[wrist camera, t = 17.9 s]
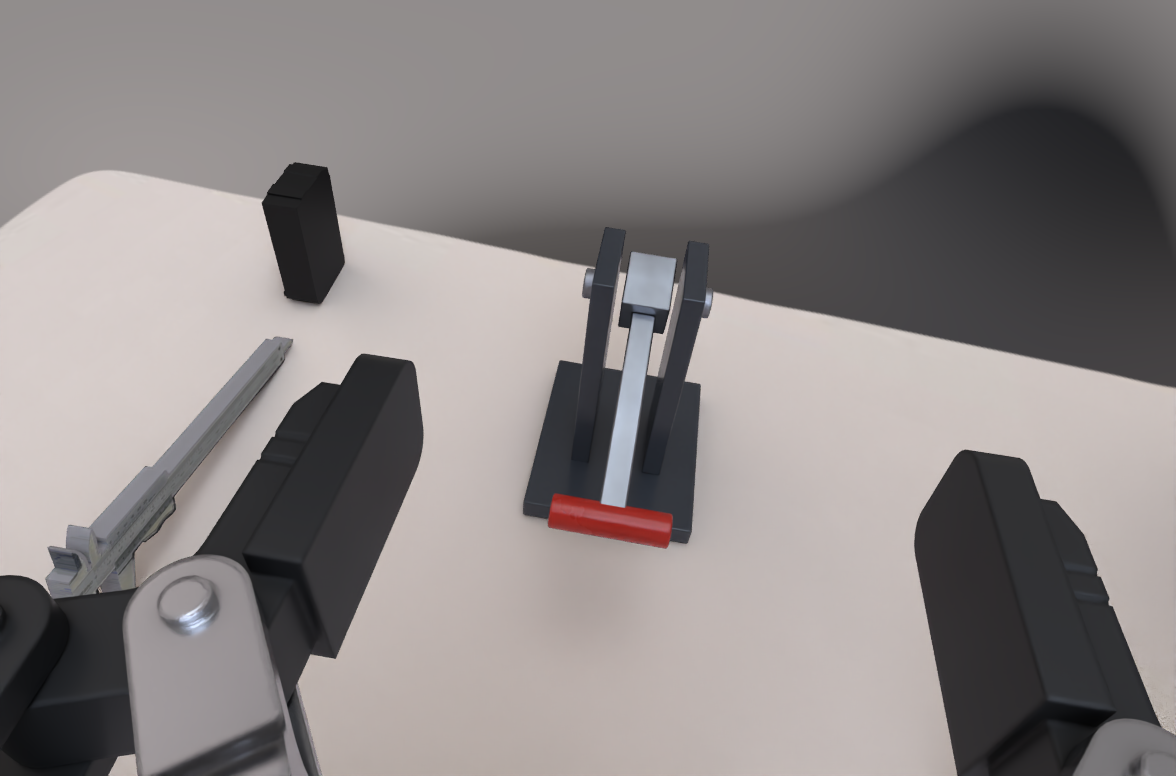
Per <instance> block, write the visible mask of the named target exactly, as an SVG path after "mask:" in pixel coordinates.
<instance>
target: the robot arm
mask: <svg viewBox="0 0 1176 776" xmlns="http://www.w3.org/2000/svg"><path fill="white" fill-rule="evenodd" d="M275 432H276V434H275V437H272V438H271V439H270V441H269V442H268V444H267V445H266V447H265V448H264V450H263V452H262V453H261V459H260V460H257V461H256V462H255V464H254V466H253V467H252V469H251V470H250V472H249V473H248V475H247V477H246V478H245V480H244V481H243V483H242V484H241V486H240V487H239V489H238V491H237V492H236V494H235V495H234V497H233V498H232V500H231V501H230V503H229V505H228V506H227V508H226V509H225V511H224V512H223V514H222V515H221V517H220V519H219V520H218V522H217V523H216V525H215V526H214V528H213V529H212V531H211V533H210V534H209V536H208V537H207V539H206V540H205V542H204V543H203V545H202V546H201V547H200V549H199V550H198V551H197V552H196V553H195V554H194V555H193V556H191V557H187V558H184V559H180V560H178V561H176V562H173V563H171V564H169V565H167V566H165V567H163V568H161V569H160V570H158V571H157V572H156V573H154V574H153V575H151V576H150V577H149V578H148V579H147V580H146V581H145V582H143V583H142V584H141V586H140V587H137V588H132V589H127V590H121V591H113V592H104V593H96V594H88V595H80V596H72V597H64V598H56V599H53V598H52V597H51V596H50V595H49V593H48V592H47V591H46V590H45V588H44V587H43V586H42V585H41V584H39V583H38V582H37V581H35V580H33V579H30V578H28V577H23V576H15V575H5V576H0V776H108V774H109V772H110V771H111V769H112V767H113V765H114V763H115V761H116V759H117V757H118V756H124V755H131V754H136V764H137V774H138V776H322V773H321V769H320V765H319V761H318V757H317V754H316V750H315V746H314V742H313V739H312V735H311V731H310V727H309V723H308V720H307V716H306V712H305V708H304V704H303V701H302V697H301V693H300V689H299V686H298V683H297V682H298V680H299V678H300V676H301V674H302V671H303V669H304V667H305V665H306V663H307V661H308V658H309V656H310V654H313V655H318V656H323V657H329V658H334V659H336V657H337V654H338V652H339V650H340V647H341V645H342V643H343V640H344V638H345V636H346V633H347V631H348V629H349V626H350V624H351V622H352V619H353V617H354V615H355V612H356V610H357V608H358V605H359V603H360V601H361V598H362V596H363V594H364V591H365V589H366V587H367V584H368V582H369V580H370V577H371V575H372V573H373V570H374V568H375V566H376V563H377V561H378V559H379V556H380V554H381V552H382V549H383V547H384V545H385V542H386V540H387V538H388V535H389V533H390V531H391V528H392V526H393V524H394V521H395V519H396V517H397V514H398V512H399V510H400V507H401V505H402V503H403V500H404V498H405V496H406V493H407V491H408V489H409V486H410V484H411V482H412V479H413V477H414V475H415V472H416V470H417V467H418V464H419V461H420V457H421V453H422V447H423V422H422V415H421V407H420V399H419V391H418V384H417V376H416V369H415V366H414V364H413V362H412V361H408V360H402V359H396V358H389V357H383V356H377V355H370V354H361V355H359V356H358V357H357V358H356V360H355V361H354V363H353V364H352V366H351V368H350V370H349V371H348V373H347V375H346V376H345V378H344V380H343V381H342V383H341V385H338V384H331V383H325V382H321V383H320V384H319V385H317V386H316V387H315V388H313V389H312V390H311V391H309V392H308V393H307V394H305V395H304V396H303V397H302V398H300V399H299V400H298V401H296V402H295V403H294V404H293V405H292V406H291V408H290V410H289V411H288V413H287V414H286V416H285V417H284V419H283V420H282V422H281V424H280V425H279V427H278V428H277V430H276V431H275ZM914 548H915V557H916V562H917V567H918V572H919V577H920V583H921V588H922V593H923V598H924V603H925V609H926V614H927V619H928V624H929V629H930V635H931V640H932V645H933V650H934V655H935V660H936V666H937V671H938V676H939V681H940V686H941V692H942V697H943V702H944V707H945V712H946V718H947V723H948V728H949V733H950V738H951V744H952V749H953V754H954V759H955V764H956V770H957V775H958V776H1176V736H1175V735H1174V734H1172V733H1170V732H1169V731H1167V730H1165V729H1163V728H1162V727H1161V725H1160V723H1159V721H1158V719H1157V717H1156V714H1155V712H1154V710H1153V707H1152V705H1151V702H1150V700H1149V697H1148V694H1147V692H1146V689H1145V687H1144V684H1143V682H1142V679H1141V677H1140V674H1139V672H1138V669H1137V667H1136V664H1135V662H1134V659H1133V657H1132V654H1131V652H1130V649H1129V647H1128V644H1127V642H1126V639H1125V637H1124V634H1123V632H1122V629H1121V627H1120V624H1119V622H1118V619H1117V617H1116V614H1115V612H1114V609H1113V606H1109V604H1108V601H1109V596H1108V594H1107V591H1106V589H1105V586H1104V584H1103V581H1102V579H1101V577H1098V576H1097V571H1098V569H1097V566H1096V564H1095V561H1094V559H1093V556H1092V554H1091V551H1090V549H1089V546H1088V544H1087V541H1086V539H1085V536H1084V534H1083V533H1082V532H1081V531H1080V529H1079V528H1078V527H1077V526H1076V525H1075V523H1074V522H1073V521H1072V520H1071V519H1070V517H1069V516H1068V515H1067V514H1066V513H1065V511H1064V510H1063V509H1062V508H1061V507H1060V505H1059V504H1058V503H1057V502H1056V501H1050V500H1044V499H1040V497H1039V494H1038V491H1037V489H1036V486H1035V483H1034V480H1033V477H1032V475H1031V472H1030V469H1029V467H1028V465H1027V464H1026V462H1025V461H1024V460H1022V459H1020V458H1016V457H1009V456H1003V455H997V454H990V453H984V452H978V451H971V450H962V451H961V452H959V453H958V454H957V455H956V457H955V458H954V460H953V461H952V463H951V465H950V466H949V468H948V469H947V471H946V473H945V474H944V476H943V478H942V479H941V481H940V482H939V484H938V486H937V487H936V489H935V491H934V492H933V494H932V495H931V497H930V499H929V500H928V502H927V504H926V505H925V507H924V508H923V510H922V512H921V514H920V516H919V519H918V522H917V526H916V531H915V540H914Z"/></svg>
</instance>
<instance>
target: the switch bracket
mask: <svg viewBox="0 0 1176 776" xmlns="http://www.w3.org/2000/svg"><path fill="white" fill-rule="evenodd" d="M625 233H626V231H625V230H621V229H614V228H609V227H606V228H605V230H604V234H603V239H602V243H601V247H600V252H599V256H598V260H597V264H596V268H595V269H590V268H587V270H586V273H585V278H584V284H583V292H582V297H583V298H588V299H590V304H589V312H588V320H587V329H586V337H585V346H584V354H583V362H582V364H579V363H574V362H568V361H562V360H560V361H559V365H558V369H557V373H556V377H555V380H554V384H553V388H552V392H551V396H550V400H549V404H548V408H547V412H546V416H545V420H544V424H543V428H542V432H541V435H540V439H539V443H538V447H537V451H536V455H535V459H534V463H533V467H532V471H531V475H530V479H529V483H528V487H527V490H526V494H525V498H524V504H523V514H525V515H530V516H536V517H541V518H547V519H548V518H549V512H550V507H551V502H552V498H553V495H554V493H558V494H563V495H569V496H574V497H580V498H586V499H591V500H597V501H600V498H601V492H602V486H603V480H604V474H605V469H606V463H607V457H608V451H609V445H610V439H611V433H612V427H613V422H614V416H615V410H616V404H617V398H618V392H619V386H620V381H621V375H622V371H620V370H615V369H609V368H605V365H606V358H607V352H608V345H609V338H610V332H611V325H612V319H613V312H614V305H615V299H616V292H617V286H618V279H619V272H620V266H621V259H622V252H623V246H624V239H625ZM708 255H709V244H706V243H700V242H694V241H689V242H688V245H687V250H686V254H685V258H684V263H683V267H682V271H681V276H680V280H679V285H678V289H677V293H676V298H675V302H674V307H673V311H672V315H671V320H670V324H669V329H668V333H667V337H666V342H665V346H664V351H663V355H662V359H661V364H660V368H659V372H658V377H656V376H650V375H647V376H646V383H645V389H644V396H643V402H642V409H641V415H640V421H639V428H638V434H637V441H636V447H635V454H634V460H633V466H632V473H631V479H630V486H629V492H628V499H627V505H626V506H631V507H636V508H642V509H648V510H653V511H659V512H664V513H670V514H672V516H673V523H672V531H671V537H670V541H675V542H681V543H688V541H689V538H690V535H691V532H692V517H693V501H694V485H695V469H696V454H697V438H698V422H699V406H700V390H701V385H700V384H697V383H691V382H685V377H686V374H687V370H688V366H689V362H690V359H691V355H692V351H693V347H694V344H695V340H696V336H697V332H698V329H699V325H700V321H701V317H702V318H708V316H709V314H710V310H711V305H712V299H713V289H710V288H706V286H707V271H708Z"/></svg>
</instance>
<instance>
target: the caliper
mask: <svg viewBox="0 0 1176 776" xmlns="http://www.w3.org/2000/svg"><path fill="white" fill-rule="evenodd" d="M292 342H293V339H289V338H282V337H274V338H273V340H270V339H266V340H265V341H264V342H263V343H262V344H261V345H260V346H259V347H258V348H257V350H256V351H255V352H254V353H253V354H252V355H251V356H250V357H249V359H248V360H247V361H246V362H245V363H244V364H243V365H242V366H241V368H240V369H239V370H238V371H237V372H236V373H235V374H234V375H233V376H232V378H231V379H230V380H229V381H228V382H227V383H226V384H225V386H224V387H223V388H222V389H221V390H220V391H219V392H218V393H217V395H216V396H215V397H214V398H213V399H212V400H211V401H210V402H209V404H208V405H207V406H206V407H205V408H204V409H203V410H202V412H201V413H200V414H199V415H198V416H197V417H196V418H195V419H194V421H193V422H192V423H191V424H190V425H189V426H188V427H187V428H186V430H185V431H184V432H183V433H182V434H181V435H180V436H179V438H178V439H177V440H176V441H175V442H174V443H173V444H172V445H171V447H170V448H169V449H168V450H167V451H166V452H165V453H164V454H163V456H162V457H161V458H160V459H159V460H158V461H157V462H156V464H155V465H154V466H153V467H148V466H145V467H144V468H143V469H142V470H141V471H140V473H139V474H138V475H137V476H136V477H135V478H134V479H133V480H132V481H131V482H130V483H129V484H128V486H127V487H126V488H125V489H124V490H123V491H122V492H121V493H120V494H119V495H118V496H117V498H116V499H115V500H114V501H113V502H112V503H111V504H110V505H109V506H108V507H107V508H106V509H105V511H104V512H103V513H102V514H101V515H100V516H99V517H98V518H97V519H96V520H95V521H94V523H93V524H92V525H91V526H90V527H89V528H86V527H80V526H74V525H68V528H67V537H66V548H60V547H54V546H50V547H47V548H48V551H49V553H50V556H51V558H52V561H53V563H54V566H55V568H54V569H53V570H52V571H51V573H50V574H49V575H48V576H47V577H46V582H47V585H48V588H49V591H50V594H51V597H52V598H53V599H56V598H64V597H72V596H80V595H88V594H96V593H99V591H98V588H99V587H100V586H101V589H102V592H103V593H104V592H113V591H121V590H127V589H132V588H136V583H135V558H134V552H135V551H136V550H137V549H138V547H139V546H140V545H141V543H142V542H146V541H147V540H149V539H150V538H151V537H152V536H154V535H155V534H156V533H158V531H159V530H160V528H161V526H162V524H163V523H164V521H165V520H166V519H167V518H168V517H170V516H171V515H172V514H173V513H174V512H175V510H176V504H175V499H174V496H175V495H176V493H177V492H178V491H179V490H180V488H181V487H182V486H183V485H184V483H185V482H186V481H187V480H188V478H189V477H190V476H191V475H192V473H193V472H194V471H195V470H196V469H197V467H198V466H199V465H200V464H201V462H202V461H203V460H204V459H205V457H206V456H207V455H208V454H209V452H210V451H211V450H212V449H213V448H214V446H215V445H216V444H217V443H218V441H219V440H220V439H221V438H222V436H223V435H224V434H225V433H226V431H227V430H228V429H229V428H230V426H231V425H232V424H233V423H234V422H235V420H236V419H237V418H238V417H239V416H240V414H241V413H242V412H243V411H244V409H245V408H246V407H247V406H248V405H249V403H250V402H251V401H252V400H253V398H254V397H255V396H256V395H257V394H258V392H259V391H260V390H261V389H262V388H263V386H264V385H265V384H266V383H267V381H268V380H269V379H270V378H271V377H272V375H273V374H274V373H275V372H276V370H277V369H278V368H279V367H280V366H281V364H282V363H283V362H284V360H285V359H284V352H285V351H286V350H287V349H288V348H289V347H290V345H291V344H292Z"/></svg>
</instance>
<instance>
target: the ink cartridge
mask: <svg viewBox="0 0 1176 776" xmlns="http://www.w3.org/2000/svg"><path fill="white" fill-rule="evenodd" d="M262 206H263V210H264V214H265V217H266V221H267V225H268V229H269V232H270V236H271V240H272V244H273V248H274V251H275V255H276V259H277V263H278V266H279V270H280V274H281V278H282V282H283V285H284V289H285V291H284V295H285V296H286V297H287V298H289V299H295V300H302V301H308V302H314V303H322V302H323V300H324V298H325V297H326V295H327V293H328V292H329V290H330V288H331V286H332V285H333V283H334V281H335V280H336V278H337V276H338V274H339V273H340V271H341V269H342V267H343V266H344V263H345V259H344V253H343V248H342V242H341V236H340V231H339V225H338V219H337V214H336V208H335V202H334V197H333V191H332V186H331V180H330V175H329V173H328V168H327V167H322V166H315V165H309V164H302V163H296V162H295V163H293V164H289V166H288V167H287V168H286V169H285V170H284V173H283V174H282V175H281V177H280V178H279V179H278V180H277V182H276V183H275V184H273V185H272V186H271V188H270V189H269V190H268V192H267V196H266V197H265V199H264V200H263V202H262Z"/></svg>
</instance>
